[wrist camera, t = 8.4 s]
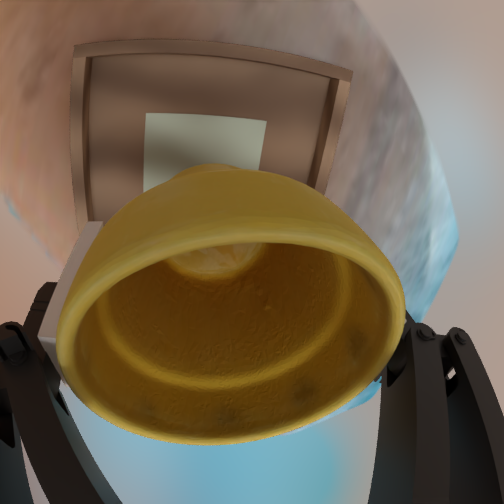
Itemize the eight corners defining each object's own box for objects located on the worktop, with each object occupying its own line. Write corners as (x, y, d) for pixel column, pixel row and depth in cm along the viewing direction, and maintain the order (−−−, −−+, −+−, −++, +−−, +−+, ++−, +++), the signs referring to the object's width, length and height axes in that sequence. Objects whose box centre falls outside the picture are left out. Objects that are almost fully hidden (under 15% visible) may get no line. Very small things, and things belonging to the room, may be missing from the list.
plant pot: (78, 228, 14) (12, 386, 6) (216, 79, 11) (283, 88, 3) (209, 318, 19) (232, 458, 12) (335, 221, 17) (433, 347, 9)
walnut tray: (85, 47, 15) (74, 45, 13) (338, 70, 20) (353, 71, 18) (94, 267, 26) (88, 283, 24) (291, 268, 31) (298, 283, 29)
